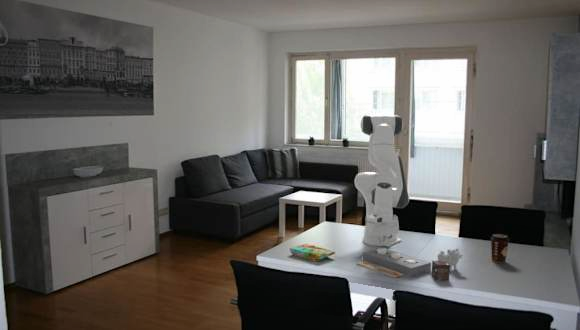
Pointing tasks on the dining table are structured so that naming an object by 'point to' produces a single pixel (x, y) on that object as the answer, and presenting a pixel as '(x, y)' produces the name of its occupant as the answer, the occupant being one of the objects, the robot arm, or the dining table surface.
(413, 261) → the button
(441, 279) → the box
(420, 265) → the console
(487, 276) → the dining table surface
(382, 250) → the button
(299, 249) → the puzzle game
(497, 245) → the coffee cup
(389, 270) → the pattern card
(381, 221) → the robot arm
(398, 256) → the button
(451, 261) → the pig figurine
